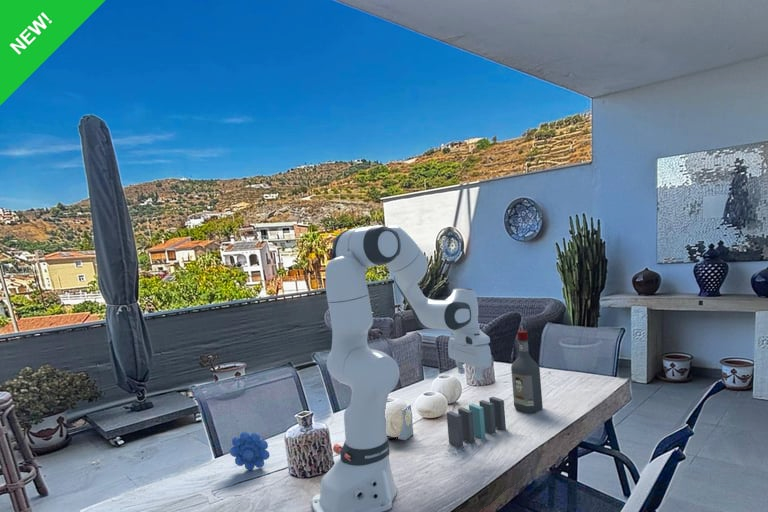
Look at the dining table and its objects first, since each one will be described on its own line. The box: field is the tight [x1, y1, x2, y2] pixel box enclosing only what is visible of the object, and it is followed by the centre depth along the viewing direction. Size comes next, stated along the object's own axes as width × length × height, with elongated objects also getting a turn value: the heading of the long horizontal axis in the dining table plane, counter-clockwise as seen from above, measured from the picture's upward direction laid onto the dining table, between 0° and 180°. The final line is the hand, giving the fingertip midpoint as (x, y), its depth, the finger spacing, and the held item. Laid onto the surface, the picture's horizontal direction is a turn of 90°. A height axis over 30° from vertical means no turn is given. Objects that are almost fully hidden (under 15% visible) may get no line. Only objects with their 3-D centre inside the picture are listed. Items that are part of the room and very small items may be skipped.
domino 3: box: [468, 403, 486, 440], centre depth 139 cm, size 2×5×10 cm, turn 32°
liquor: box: [510, 330, 544, 414], centre depth 159 cm, size 9×9×30 cm
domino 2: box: [457, 407, 475, 444], centre depth 136 cm, size 2×5×10 cm, turn 33°
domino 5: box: [489, 396, 507, 431], centre depth 144 cm, size 2×5×10 cm, turn 32°
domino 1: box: [446, 410, 464, 449], centre depth 133 cm, size 2×5×10 cm, turn 32°
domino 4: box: [478, 399, 497, 435], centre depth 141 cm, size 2×5×10 cm, turn 32°
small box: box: [398, 403, 414, 441], centre depth 143 cm, size 8×6×10 cm
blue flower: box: [229, 431, 270, 471], centre depth 126 cm, size 12×7×12 cm, turn 101°
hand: (469, 376), depth 138 cm, fingers open, 8 cm apart
